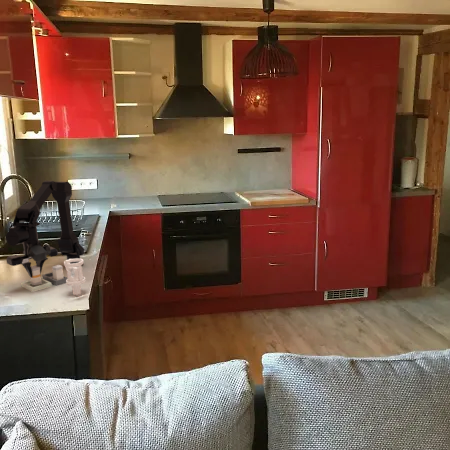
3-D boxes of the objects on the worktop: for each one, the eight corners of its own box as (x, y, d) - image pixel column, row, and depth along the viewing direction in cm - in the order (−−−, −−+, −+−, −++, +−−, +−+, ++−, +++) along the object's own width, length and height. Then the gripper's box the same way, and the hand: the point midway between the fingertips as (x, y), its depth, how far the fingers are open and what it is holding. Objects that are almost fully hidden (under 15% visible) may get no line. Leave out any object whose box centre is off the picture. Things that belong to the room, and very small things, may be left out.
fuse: (53, 282, 205) (51, 266, 203) (60, 280, 207) (58, 264, 205) (57, 284, 202) (55, 268, 201) (64, 282, 204) (62, 266, 203)
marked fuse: (30, 283, 201) (28, 267, 200) (37, 281, 203) (35, 265, 202) (34, 285, 199) (32, 268, 197) (41, 283, 201) (39, 266, 199)
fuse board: (43, 281, 210) (42, 274, 209) (54, 278, 213) (53, 271, 212) (56, 288, 201) (55, 281, 200) (68, 284, 205) (67, 277, 204)
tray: (21, 288, 202) (21, 282, 202) (40, 283, 208) (40, 277, 207) (32, 294, 195) (31, 288, 195) (52, 288, 201) (51, 282, 200)
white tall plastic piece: (64, 297, 191) (59, 259, 188) (78, 291, 197) (74, 254, 193) (76, 300, 187) (72, 262, 184) (90, 294, 193) (86, 256, 189)
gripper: (15, 247, 185) (21, 287, 188) (62, 237, 198) (66, 274, 201) (3, 242, 193) (8, 281, 196) (49, 233, 205) (53, 269, 209)
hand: (35, 276), depth 200 cm, fingers closed on marked fuse, 3 cm apart
